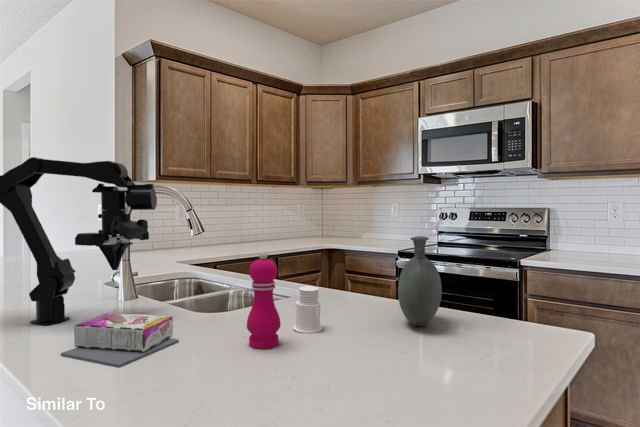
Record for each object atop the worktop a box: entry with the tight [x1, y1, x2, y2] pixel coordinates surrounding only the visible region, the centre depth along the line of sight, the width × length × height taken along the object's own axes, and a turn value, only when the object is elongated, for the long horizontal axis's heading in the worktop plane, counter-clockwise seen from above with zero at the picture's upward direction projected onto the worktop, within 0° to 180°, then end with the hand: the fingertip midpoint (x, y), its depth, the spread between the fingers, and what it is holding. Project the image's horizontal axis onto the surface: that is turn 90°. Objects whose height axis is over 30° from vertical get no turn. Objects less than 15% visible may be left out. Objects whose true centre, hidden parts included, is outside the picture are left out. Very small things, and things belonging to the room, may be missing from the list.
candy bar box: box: [73, 312, 174, 352], centre depth 95 cm, size 11×5×16 cm
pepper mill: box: [246, 251, 281, 350], centre depth 95 cm, size 7×7×20 cm
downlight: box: [292, 285, 323, 334], centre depth 106 cm, size 8×7×10 cm
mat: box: [60, 337, 180, 368], centre depth 92 cm, size 16×16×1 cm
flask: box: [397, 235, 443, 327], centre depth 109 cm, size 12×17×22 cm
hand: (114, 269), depth 115 cm, fingers closed
